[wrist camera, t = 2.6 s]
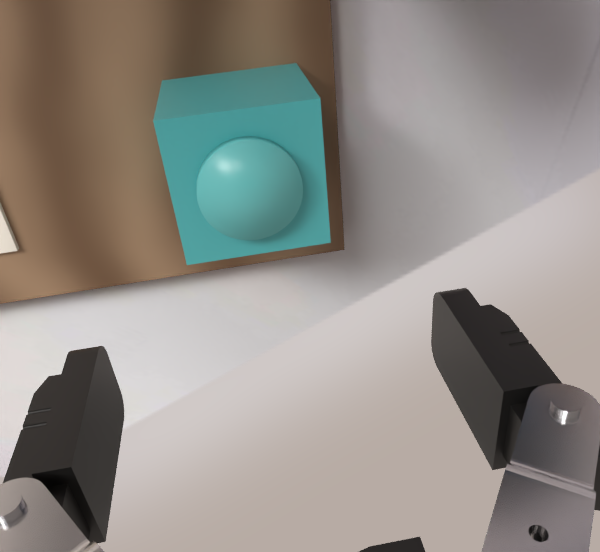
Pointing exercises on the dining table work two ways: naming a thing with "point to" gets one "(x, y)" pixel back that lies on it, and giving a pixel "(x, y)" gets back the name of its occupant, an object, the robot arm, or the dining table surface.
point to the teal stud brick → (244, 162)
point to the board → (127, 129)
